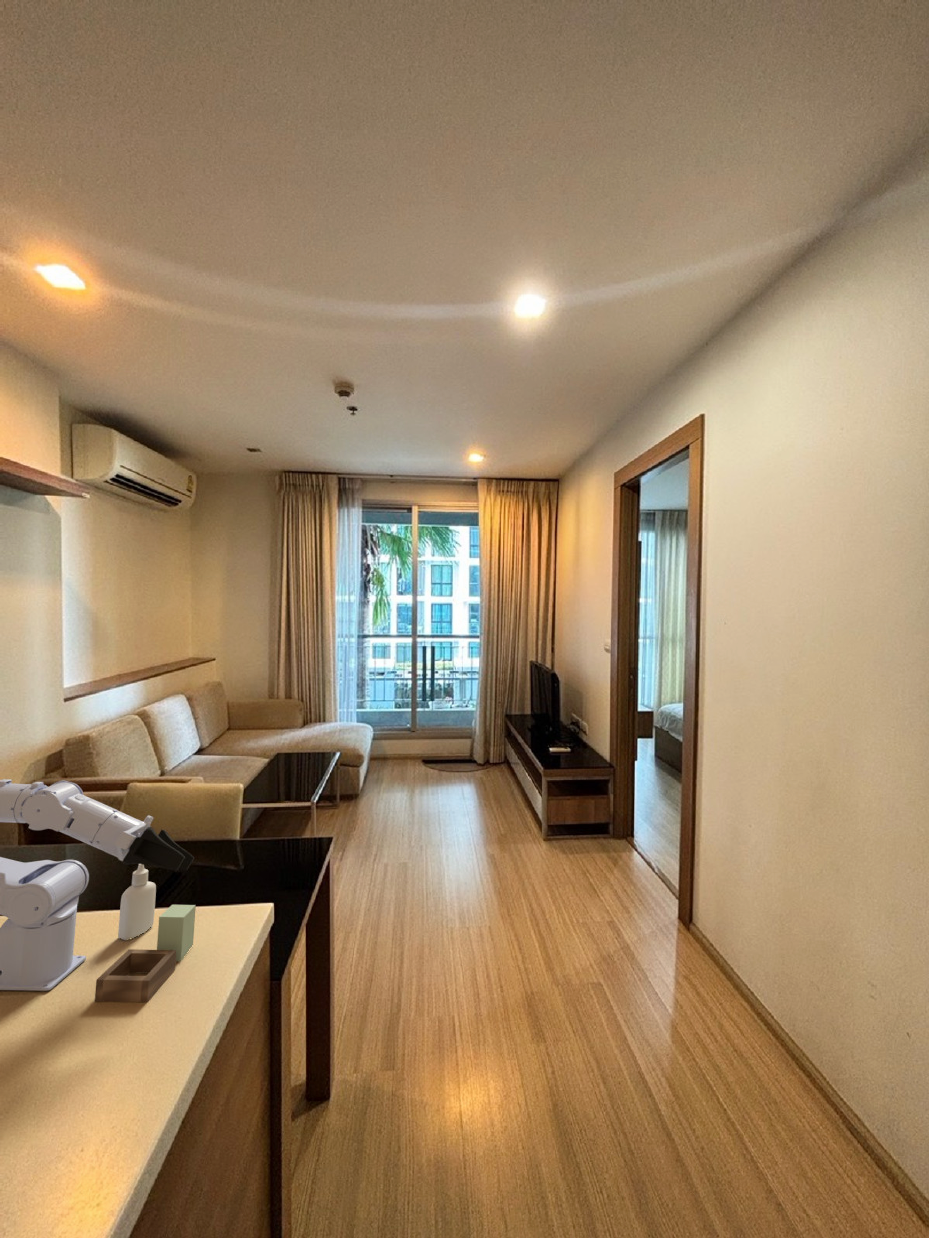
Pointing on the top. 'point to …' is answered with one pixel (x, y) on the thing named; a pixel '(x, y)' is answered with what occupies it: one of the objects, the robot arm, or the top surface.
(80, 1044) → the top surface
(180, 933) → the pale green block
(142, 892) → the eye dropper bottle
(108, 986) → the socket block
